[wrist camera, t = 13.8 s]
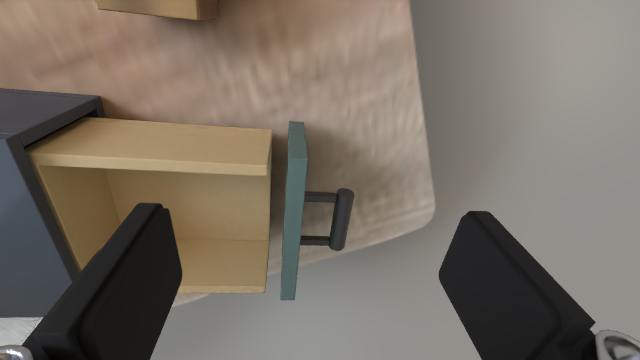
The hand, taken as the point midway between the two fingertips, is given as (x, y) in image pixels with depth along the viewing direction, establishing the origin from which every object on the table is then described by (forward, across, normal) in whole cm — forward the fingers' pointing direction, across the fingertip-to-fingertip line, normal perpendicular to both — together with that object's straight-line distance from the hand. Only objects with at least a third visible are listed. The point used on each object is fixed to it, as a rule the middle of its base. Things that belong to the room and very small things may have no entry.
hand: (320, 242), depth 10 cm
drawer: (+16, +6, +8) cm, 19 cm away
